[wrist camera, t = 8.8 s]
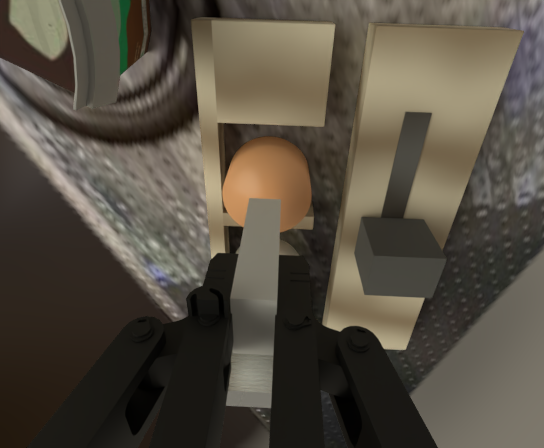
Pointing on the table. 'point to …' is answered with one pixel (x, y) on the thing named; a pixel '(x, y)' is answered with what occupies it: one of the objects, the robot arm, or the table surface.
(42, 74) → the food container
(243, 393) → the toggle lever
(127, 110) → the table surface
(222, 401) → the robot arm
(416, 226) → the slider knob
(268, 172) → the brown egg
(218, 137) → the beige flat pieces
